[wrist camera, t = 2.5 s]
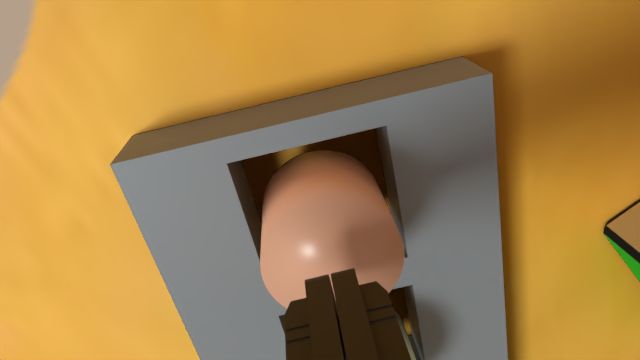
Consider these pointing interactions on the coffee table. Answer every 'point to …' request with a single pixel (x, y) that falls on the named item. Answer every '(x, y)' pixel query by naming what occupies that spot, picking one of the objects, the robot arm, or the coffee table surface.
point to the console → (403, 195)
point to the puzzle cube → (627, 237)
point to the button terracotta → (326, 225)
